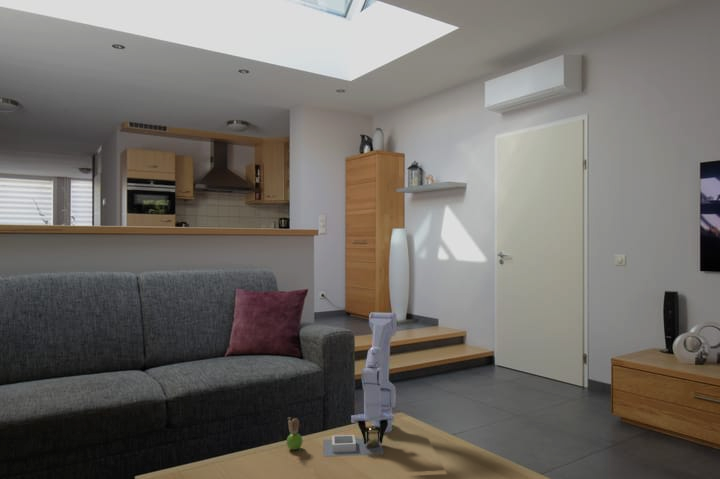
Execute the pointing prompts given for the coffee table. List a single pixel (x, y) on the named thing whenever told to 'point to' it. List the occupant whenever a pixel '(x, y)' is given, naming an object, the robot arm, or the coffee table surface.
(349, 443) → the fitting board
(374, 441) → the brass door knob
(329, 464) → the coffee table surface
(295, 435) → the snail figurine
